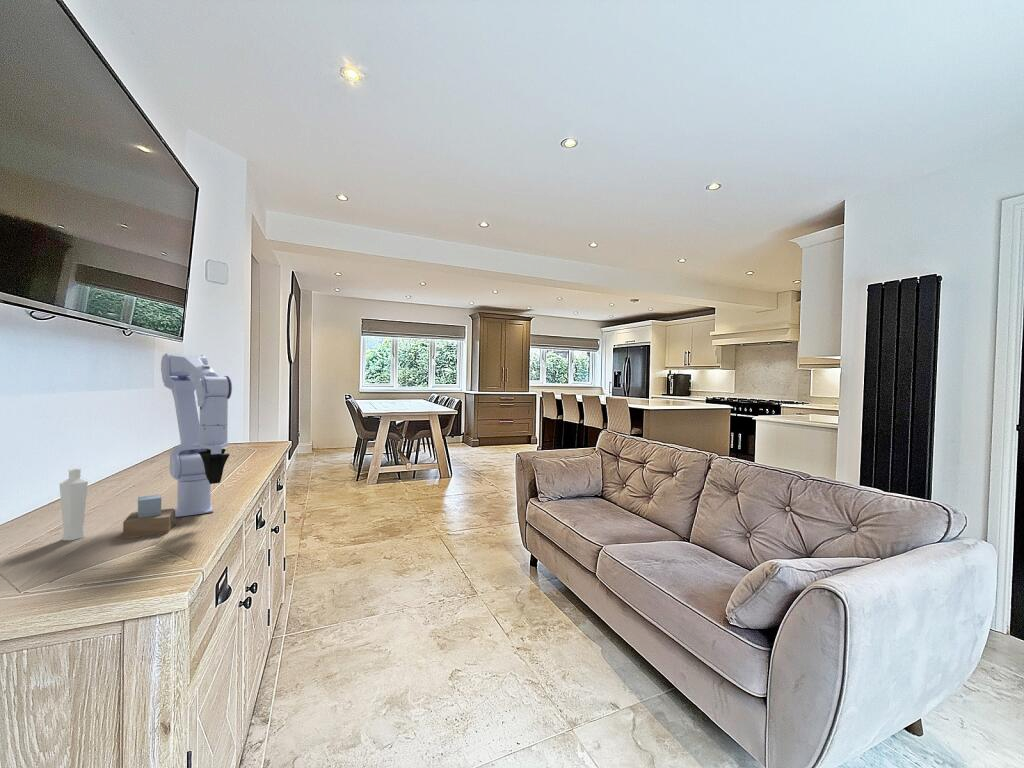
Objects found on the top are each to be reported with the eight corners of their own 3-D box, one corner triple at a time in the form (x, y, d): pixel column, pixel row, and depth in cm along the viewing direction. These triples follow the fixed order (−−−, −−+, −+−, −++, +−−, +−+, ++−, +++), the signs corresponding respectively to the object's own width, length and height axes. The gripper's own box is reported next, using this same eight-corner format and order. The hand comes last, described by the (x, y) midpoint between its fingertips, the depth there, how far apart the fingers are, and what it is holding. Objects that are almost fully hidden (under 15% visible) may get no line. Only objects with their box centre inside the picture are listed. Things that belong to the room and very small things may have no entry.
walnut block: (131, 529, 104) (131, 512, 104) (173, 524, 108) (174, 508, 108) (123, 540, 97) (123, 521, 97) (168, 534, 101) (169, 516, 101)
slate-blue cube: (137, 514, 103) (138, 497, 103) (159, 511, 106) (159, 494, 106) (138, 518, 100) (138, 500, 100) (161, 514, 103) (161, 497, 103)
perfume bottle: (82, 532, 101) (83, 466, 101) (91, 536, 99) (92, 468, 99) (55, 539, 96) (56, 470, 96) (64, 542, 94) (65, 472, 95)
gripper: (192, 424, 112) (191, 478, 112) (195, 427, 100) (194, 488, 100) (225, 423, 116) (224, 474, 116) (231, 426, 105) (231, 483, 105)
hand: (213, 480), depth 108 cm, fingers open, 7 cm apart
